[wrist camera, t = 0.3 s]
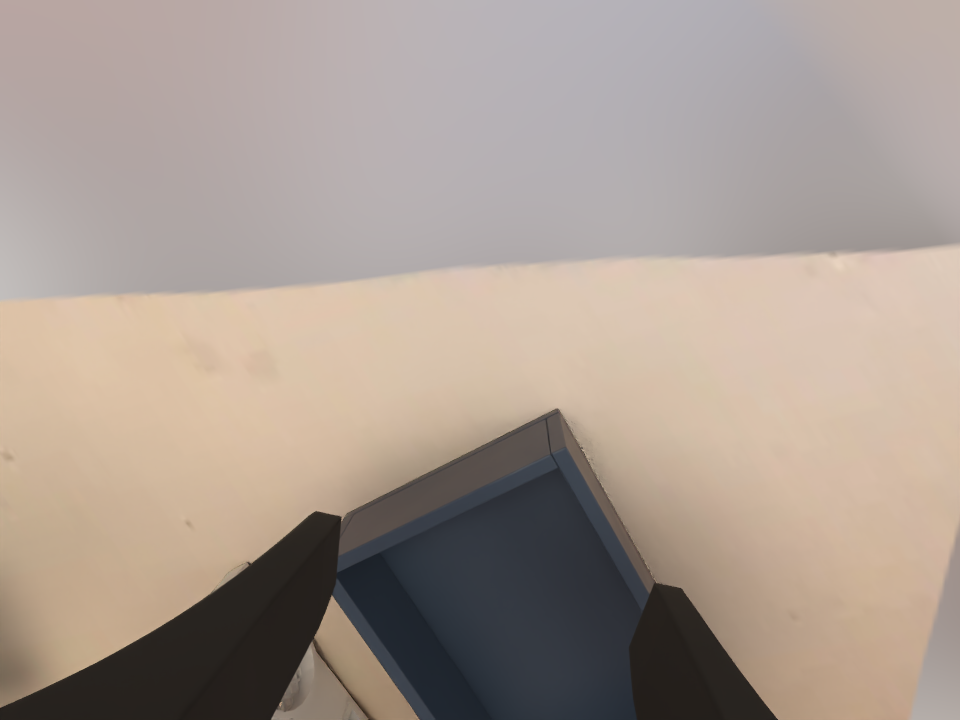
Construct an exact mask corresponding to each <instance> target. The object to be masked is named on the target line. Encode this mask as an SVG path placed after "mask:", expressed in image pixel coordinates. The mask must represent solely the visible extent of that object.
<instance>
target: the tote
mask: <svg viewBox="0 0 960 720" xmlns="http://www.w3.org/2000/svg"><path fill="white" fill-rule="evenodd" d="M654 583H656V582H655V581H654V579H653V577H652V575H651V573H650V572H649V570H648V568H647V566H646V564H645V563H644V561H643V559H642V557H641V556H640V554H639V552H638V550H637V548H636V547H635V545H634V543H633V541H632V539H631V538H630V536H629V534H628V532H627V530H626V529H625V527H624V525H623V523H622V522H621V520H620V518H619V516H618V514H617V513H616V511H615V509H614V507H613V505H612V504H611V502H610V500H609V498H608V497H607V495H606V493H605V491H604V489H603V488H602V486H601V484H600V482H599V480H598V479H597V477H596V475H595V473H594V471H593V470H592V468H591V466H590V464H589V463H588V461H587V459H586V457H585V455H584V454H583V452H582V450H581V448H580V446H579V445H578V443H577V441H576V439H575V438H574V436H573V434H572V432H571V430H570V429H569V427H568V425H567V423H566V421H565V420H564V418H563V416H562V414H561V412H560V411H559V409H555V410H553V411H551V412H549V413H547V414H545V415H543V416H541V417H539V418H537V419H535V420H533V421H531V422H529V423H527V424H525V425H523V426H521V427H519V428H517V429H515V430H513V431H511V432H509V433H507V434H505V435H503V436H501V437H499V438H497V439H495V440H493V441H491V442H489V443H487V444H485V445H483V446H481V447H479V448H477V449H475V450H473V451H471V452H469V453H467V454H465V455H463V456H461V457H459V458H457V459H455V460H453V461H451V462H449V463H447V464H445V465H443V466H441V467H439V468H437V469H435V470H433V471H431V472H429V473H427V474H425V475H423V476H421V477H419V478H417V479H415V480H413V481H411V482H409V483H407V484H405V485H403V486H401V487H399V488H397V489H395V490H393V491H391V492H389V493H387V494H385V495H383V496H381V497H379V498H377V499H375V500H373V501H371V502H369V503H367V504H365V505H363V506H361V507H359V508H357V509H355V510H353V511H351V512H349V513H347V514H346V516H345V518H344V519H343V521H342V522H341V529H340V541H339V553H338V565H337V577H336V585H335V588H334V590H333V593H332V596H333V597H334V598H335V600H336V601H337V603H338V604H339V606H340V607H341V608H342V610H343V611H344V613H345V614H346V615H347V617H348V618H349V620H350V621H351V622H352V624H353V625H354V627H355V628H356V630H357V631H358V632H359V634H360V635H361V637H362V638H363V639H364V641H365V642H366V644H367V645H368V647H369V648H370V649H371V651H372V652H373V654H374V655H375V656H376V658H377V659H378V661H379V662H380V663H381V665H382V666H383V668H384V669H385V671H386V672H387V673H388V675H389V676H390V678H391V679H392V680H393V682H394V683H395V685H396V686H397V687H398V689H399V690H400V692H401V693H402V695H403V696H404V697H405V699H406V700H407V702H408V703H409V704H410V706H411V707H412V709H413V710H414V712H415V713H416V714H417V716H418V717H419V719H420V720H637V717H636V711H635V706H634V700H633V693H632V683H631V671H630V656H629V646H630V643H631V641H632V638H633V636H634V633H635V631H636V628H637V625H638V623H639V620H640V618H641V615H642V613H643V610H644V608H645V605H646V602H647V600H648V597H649V595H650V592H651V590H652V587H653V585H654Z"/></svg>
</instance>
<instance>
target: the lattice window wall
mask: <svg viewBox="0 0 960 720" xmlns="http://www.w3.org/2000/svg"><path fill="white" fill-rule="evenodd" d="M248 566H249V565H248V563H247V562H246V563H244V564H243V565H241V566H239V567H237V568H235V569H233V570H231V571H230V572H228V573H227V575H226V576H225V577H224V578H223V579H222V581H221V582H220V583H219V584H218V585H217V586H216V588H215V589H214V590H213V591H212V592H214V591H215V590H217V589H218V588H219V587H221V586H222V585H224V584H225V583H226V582H228V581H229V580H231V579H232V578H233V577H235V576H236V575H237V574H239V573H240V572H241V571H243V570H244V569H245V568H247V567H248ZM212 592H211V593H212ZM282 701H283V702H282ZM280 702H282V705H281V707H280V706H279V705H278V707H277V709H276V711H275V713H274V715H273V717H272V719H271V720H369V719H368V718H367V717H366V716H365V714H364V713H363V712H362V710H361V709H360V708H359V707H358V705H357V704H356V703H355V701H354V700H353V699H352V698H351V696H350V695H349V694H348V692H347V691H346V689H345V688H344V687H343V686H342V684H341V683H340V682H339V680H338V679H337V678H336V677H335V675H334V674H333V673H332V671H331V670H330V669H329V668H328V666H327V665H326V664H325V662H324V661H323V660H322V659H321V657H320V656H319V655H318V653H317V652H316V650H315V647H314V644H313V641H312V642H311V644H310V646H309V648H308V650H307V652H306V654H305V656H304V658H303V659H302V661H301V663H300V665H299V667H298V669H297V671H296V673H295V675H294V677H293V679H292V680H291V682H290V684H289V686H288V688H287V690H286V692H285V694H284V696H283V698H282V700H281V701H280Z"/></svg>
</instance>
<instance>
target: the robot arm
mask: <svg viewBox="0 0 960 720" xmlns="http://www.w3.org/2000/svg"><path fill="white" fill-rule="evenodd" d="M341 518H342V517H340V516H336V515H331V514H326V513H322V512H317V511H316V512H314V513H312V514H311V515H309V516H308V517H307V518H306V519H305V520H304V521H303V522H301V523H300V524H299V525H298V526H297V527H296V528H294V529H293V530H292V531H291V532H290V533H289V534H287V535H286V536H285V537H284V538H283V539H281V540H280V541H279V542H278V543H277V544H275V545H274V546H273V547H272V548H271V549H269V550H268V551H267V552H266V553H264V554H263V555H262V556H261V557H259V558H258V559H257V560H255V561H254V562H253V563H252V564H250V565H249V566H248V567H247V568H245V569H244V570H243V571H241V572H240V573H239V574H237V575H236V576H235V577H233V578H232V579H231V580H229V581H228V582H226V583H225V584H224V585H222V586H221V587H219V588H218V589H217V590H215V591H214V592H212V593H211V594H210V595H208V596H207V597H205V598H204V599H203V600H201V601H200V602H198V603H197V604H195V605H194V606H192V607H191V608H189V609H188V610H186V611H185V612H183V613H181V614H180V615H178V616H177V617H175V618H174V619H172V620H170V621H169V622H167V623H166V624H164V625H162V626H161V627H159V628H157V629H156V630H154V631H152V632H151V633H149V634H147V635H146V636H144V637H142V638H140V639H139V640H137V641H135V642H133V643H131V644H130V645H128V646H126V647H124V648H123V649H121V650H119V651H117V652H115V653H114V654H112V655H110V656H108V657H106V658H104V659H102V660H101V661H99V662H97V663H95V664H93V665H91V666H89V667H87V668H85V669H83V670H81V671H79V672H77V673H75V674H73V675H71V676H69V677H67V678H64V679H62V680H60V681H58V682H56V683H54V684H52V685H50V686H48V687H46V688H44V689H42V690H39V691H37V692H35V693H33V694H31V695H28V696H26V697H24V698H22V699H20V700H17V701H15V702H13V703H10V704H8V705H6V706H4V707H1V708H0V720H271V719H272V717H273V715H274V713H275V711H276V709H277V707H278V705H279V703H280V701H281V700H282V698H283V696H284V694H285V692H286V690H287V688H288V686H289V684H290V682H291V680H292V679H293V677H294V675H295V673H296V671H297V669H298V667H299V665H300V663H301V661H302V659H303V658H304V656H305V654H306V652H307V650H308V648H309V646H310V644H311V642H312V640H313V638H314V636H315V634H316V632H317V630H318V628H319V626H320V623H321V621H322V619H323V616H324V614H325V611H326V609H327V606H328V603H329V601H330V598H331V596H332V593H333V590H334V588H335V585H336V577H337V565H338V553H339V541H340V529H341ZM629 656H630V671H631V683H632V693H633V700H634V706H635V711H636V717H637V720H778V719H777V718H776V717H775V715H774V714H773V713H772V712H771V711H770V709H769V708H768V707H767V706H766V704H765V703H764V702H763V701H762V699H761V698H760V697H759V695H758V694H757V693H756V691H755V690H754V689H753V688H752V686H751V685H750V684H749V682H748V681H747V680H746V678H745V677H744V676H743V674H742V673H741V672H740V670H739V669H738V668H737V666H736V665H735V663H734V662H733V661H732V659H731V658H730V657H729V655H728V654H727V652H726V651H725V650H724V648H723V647H722V645H721V644H720V643H719V641H718V640H717V638H716V637H715V636H714V634H713V633H712V631H711V630H710V628H709V627H708V626H707V624H706V623H705V621H704V620H703V618H702V617H701V616H700V614H699V613H698V611H697V610H696V608H695V607H694V605H693V604H692V603H691V601H690V600H689V598H688V597H687V596H686V594H685V593H684V591H683V590H682V589H681V588H677V587H672V586H667V585H663V584H658V583H654V585H653V587H652V590H651V592H650V595H649V597H648V600H647V602H646V605H645V608H644V610H643V613H642V615H641V618H640V620H639V623H638V625H637V628H636V631H635V633H634V636H633V638H632V641H631V643H630V646H629Z"/></svg>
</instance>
